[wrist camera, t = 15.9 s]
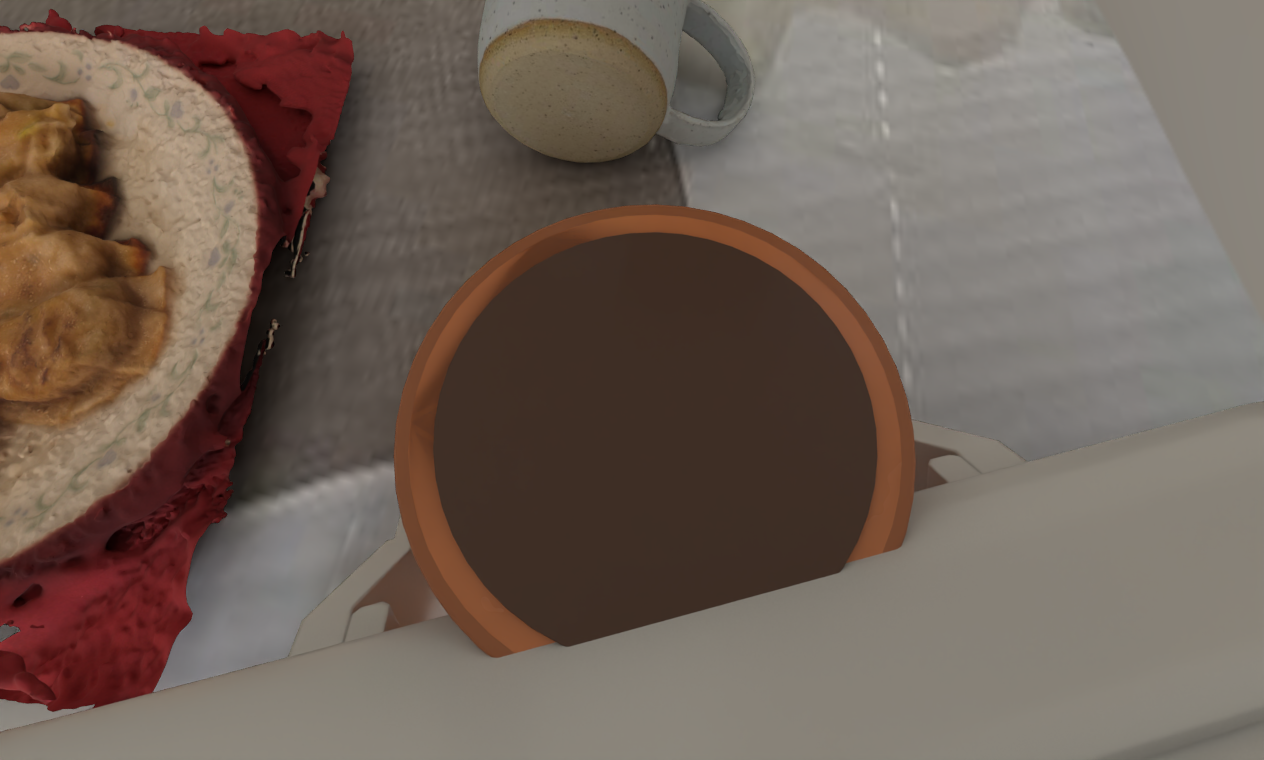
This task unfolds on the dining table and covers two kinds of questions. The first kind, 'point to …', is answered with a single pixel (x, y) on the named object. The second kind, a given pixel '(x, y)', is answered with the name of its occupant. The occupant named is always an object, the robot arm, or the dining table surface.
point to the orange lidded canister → (645, 429)
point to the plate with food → (135, 321)
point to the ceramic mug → (603, 73)
